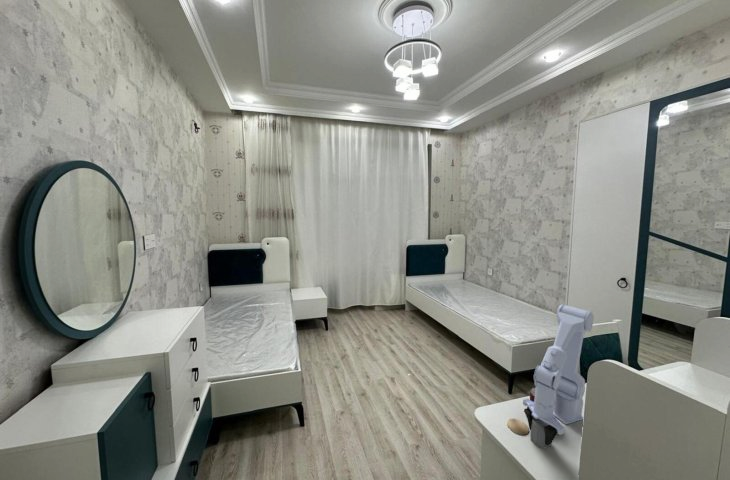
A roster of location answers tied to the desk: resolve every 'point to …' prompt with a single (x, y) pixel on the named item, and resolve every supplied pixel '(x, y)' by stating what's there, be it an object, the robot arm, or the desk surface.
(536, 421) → the faceted grey cylinder
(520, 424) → the tan round coaster
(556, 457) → the desk surface
